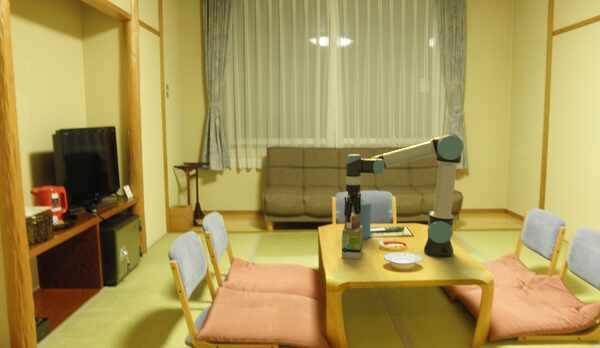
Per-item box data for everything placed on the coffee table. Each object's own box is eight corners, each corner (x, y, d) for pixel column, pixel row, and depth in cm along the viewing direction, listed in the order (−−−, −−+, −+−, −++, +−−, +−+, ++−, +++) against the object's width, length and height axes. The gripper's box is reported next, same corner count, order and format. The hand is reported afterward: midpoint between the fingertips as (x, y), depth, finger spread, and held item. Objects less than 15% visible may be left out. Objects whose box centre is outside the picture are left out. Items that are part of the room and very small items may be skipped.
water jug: (368, 240, 286) (369, 193, 282) (342, 238, 290) (342, 192, 286) (372, 233, 301) (372, 188, 297) (346, 232, 305) (347, 187, 301)
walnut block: (360, 227, 259) (360, 214, 258) (354, 229, 254) (354, 216, 253) (350, 225, 262) (350, 212, 261) (344, 227, 257) (344, 214, 256)
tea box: (360, 259, 252) (361, 231, 250) (341, 258, 254) (341, 230, 252) (362, 250, 266) (363, 224, 264) (344, 249, 268) (344, 223, 266)
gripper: (355, 180, 264) (355, 222, 268) (337, 185, 249) (337, 229, 252) (368, 182, 260) (367, 224, 264) (350, 187, 245) (349, 231, 248)
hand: (352, 226), depth 258 cm, fingers open, 6 cm apart
